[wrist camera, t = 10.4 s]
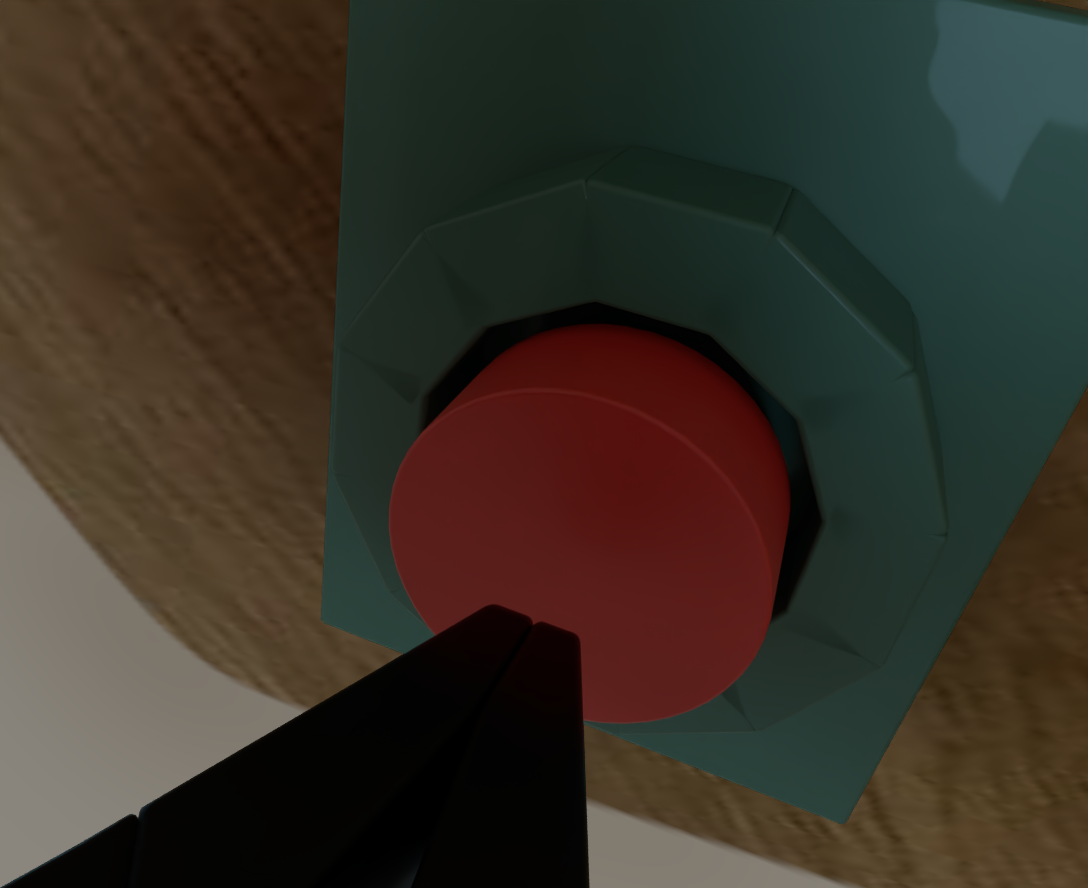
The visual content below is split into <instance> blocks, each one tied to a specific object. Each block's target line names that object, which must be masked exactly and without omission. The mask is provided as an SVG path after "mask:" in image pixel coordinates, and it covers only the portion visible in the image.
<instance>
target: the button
mask: <svg viewBox="0 0 1088 888" xmlns="http://www.w3.org/2000/svg"><path fill="white" fill-rule="evenodd" d="M790 508H791V494H790V481H789V475H788V470H787V465H786V461H785V458H784V455H783V452H782V449H781V446H780V443H779V441H778V439H777V437H776V435H775V433H774V431H773V429H772V427H771V425H770V423H769V421H768V420H767V418H766V417H765V415H764V414H763V412H762V411H761V410H760V408H759V407H758V405H757V404H756V402H755V401H754V400H753V399H752V398H751V396H750V395H749V394H748V393H747V392H746V391H745V390H744V389H743V388H742V386H741V385H740V384H739V383H738V382H737V381H736V380H735V379H733V378H732V377H731V376H730V375H729V374H728V373H726V372H725V371H724V370H723V369H722V368H721V367H719V366H718V365H717V364H715V363H714V362H712V361H711V360H709V359H708V358H706V357H705V356H703V355H702V354H700V353H699V352H697V351H695V350H693V349H691V348H689V347H687V346H685V345H684V344H682V343H680V342H678V341H676V340H673V339H670V338H668V337H665V336H662V335H659V334H657V333H654V332H651V331H646V330H642V329H638V328H633V327H629V326H622V325H612V324H577V325H571V326H564V327H558V328H554V329H551V330H547V331H544V332H541V333H538V334H535V335H533V336H530V337H528V338H526V339H524V340H522V341H520V342H518V343H516V344H514V345H513V346H511V347H510V348H508V349H507V350H505V351H504V352H502V353H501V354H499V355H498V356H497V357H496V358H495V359H494V360H493V361H492V362H491V363H490V364H488V365H487V366H486V367H485V368H484V369H483V370H482V371H481V372H480V373H479V374H478V375H477V376H476V377H475V378H474V379H473V380H472V381H471V382H470V383H469V385H468V386H467V387H466V388H465V389H464V390H463V391H462V392H461V393H460V394H459V395H458V396H457V397H456V398H455V399H454V400H453V401H452V402H451V403H450V404H449V405H448V406H447V407H446V408H445V409H444V410H443V411H442V412H441V413H440V414H439V415H438V416H437V417H436V418H435V419H434V420H433V421H432V422H431V423H430V424H429V425H428V427H427V428H426V429H425V430H424V431H423V432H422V433H421V434H420V435H419V437H418V438H417V439H416V440H415V442H414V443H413V444H412V446H411V447H410V448H409V450H408V451H407V453H406V455H405V457H404V459H403V461H402V463H401V465H400V466H399V469H398V472H397V475H396V478H395V481H394V484H393V488H392V494H391V500H390V506H389V534H390V542H391V549H392V553H393V557H394V561H395V565H396V568H397V571H398V573H399V576H400V579H401V581H402V584H403V586H404V589H405V590H406V592H407V594H408V596H409V598H410V600H411V602H412V604H413V605H414V607H415V609H416V610H417V612H418V613H419V615H420V616H421V618H422V619H423V621H424V622H425V624H426V625H427V626H428V628H429V629H430V630H431V631H432V632H433V634H434V635H437V634H439V633H440V632H442V631H444V630H445V629H447V628H449V627H451V626H452V625H454V624H456V623H457V622H459V621H461V620H463V619H464V618H466V617H468V616H469V615H471V614H473V613H474V612H476V611H478V610H480V609H481V608H483V607H485V606H487V605H490V604H497V605H500V606H503V607H506V608H508V609H511V610H514V611H517V612H519V613H522V614H525V615H527V616H529V617H530V618H531V619H532V621H533V624H535V623H537V622H540V621H543V622H546V623H549V624H552V625H554V626H557V627H560V628H563V629H565V630H568V631H571V632H573V633H575V634H577V635H578V636H579V639H580V642H581V665H582V693H583V720H585V721H593V722H600V723H620V724H628V723H641V722H650V721H656V720H661V719H666V718H670V717H673V716H676V715H679V714H682V713H685V712H688V711H691V710H693V709H695V708H697V707H699V706H701V705H703V704H705V703H707V702H709V701H711V700H712V699H713V698H715V697H716V696H718V695H719V694H721V693H722V692H724V691H725V690H726V689H727V688H728V687H730V686H731V685H732V684H733V683H734V682H735V681H736V680H737V679H738V678H739V677H740V676H741V675H742V674H743V673H744V672H745V670H746V669H747V668H748V666H749V665H750V664H751V662H752V661H753V660H754V658H755V657H756V655H757V653H758V651H759V649H760V647H761V645H762V643H763V641H764V639H765V636H766V633H767V630H768V627H769V623H770V620H771V616H772V611H773V605H774V600H775V594H776V589H777V584H778V578H779V573H780V567H781V562H782V557H783V551H784V546H785V541H786V535H787V530H788V524H789V516H790Z"/></svg>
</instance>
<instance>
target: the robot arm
mask: <svg viewBox="0 0 1088 888" xmlns="http://www.w3.org/2000/svg"><path fill="white" fill-rule="evenodd" d="M586 807H587V806H586V777H585V749H584V721H583V693H582V665H581V642H580V639H579V636H578V635H577V634H575V633H573V632H571V631H568V630H565V629H563V628H560V627H557V626H554V625H552V624H549V623H546V622H543V621H540V622H537V623H535V624H533V621H532V619H531V618H530V617H529V616H527V615H525V614H522V613H519V612H517V611H514V610H511V609H508V608H506V607H503V606H500V605H497V604H490V605H487V606H485V607H483V608H481V609H480V610H478V611H476V612H474V613H473V614H471V615H469V616H468V617H466V618H464V619H463V620H461V621H459V622H457V623H456V624H454V625H452V626H451V627H449V628H447V629H445V630H444V631H442V632H440V633H439V634H437V635H435V636H434V637H432V638H430V639H428V640H427V641H425V642H423V643H422V644H420V645H418V646H416V647H415V648H413V649H411V650H410V651H408V652H406V653H405V654H403V655H401V656H399V657H398V658H396V659H394V660H393V661H391V662H389V663H387V664H386V665H384V666H382V667H381V668H379V669H377V670H376V671H374V672H372V673H370V674H369V675H367V676H365V677H364V678H362V679H360V680H359V681H357V682H355V683H353V684H352V685H350V686H348V687H347V688H345V689H343V690H341V691H340V692H338V693H336V694H335V695H333V696H331V697H330V698H328V699H326V700H324V701H323V702H321V703H319V704H318V705H316V706H314V707H312V708H311V709H309V710H307V711H306V712H304V713H302V714H301V715H299V716H297V717H295V718H294V719H292V720H290V721H289V722H287V723H285V724H284V725H282V726H280V727H278V728H277V729H275V730H273V731H272V732H270V733H268V734H267V735H265V736H263V737H261V738H260V739H258V740H256V741H255V742H253V743H251V744H249V745H248V746H246V747H244V748H243V749H241V750H239V751H237V752H236V753H234V754H232V755H231V756H229V757H227V758H226V759H224V760H222V761H220V762H219V763H217V764H215V765H214V766H212V767H210V768H208V769H207V770H205V771H203V772H202V773H200V774H198V775H197V776H195V777H193V778H191V779H190V780H188V781H186V782H185V783H183V784H181V785H180V786H178V787H176V788H174V789H173V790H171V791H169V792H168V793H166V794H164V795H162V796H161V797H160V798H157V799H156V800H154V801H152V802H151V803H149V804H147V805H145V806H144V807H142V808H141V810H140V812H139V817H137V816H136V815H133V814H130V815H127V816H126V817H124V818H122V819H121V820H119V821H117V822H116V823H114V824H112V825H111V826H109V827H107V828H105V829H104V830H102V831H100V832H99V833H97V834H95V835H93V836H92V837H90V838H88V839H87V840H85V841H84V842H82V843H80V844H78V845H76V846H74V847H72V848H71V849H69V850H67V851H65V852H64V853H62V854H60V855H59V856H57V857H55V858H53V859H51V860H49V861H47V862H46V863H44V864H42V865H40V866H39V867H37V868H35V869H33V870H31V871H29V872H28V873H26V874H24V875H22V876H20V877H19V878H17V879H15V880H13V881H11V882H10V883H8V884H6V885H5V886H2V887H1V888H589V863H588V834H587V808H586Z"/></svg>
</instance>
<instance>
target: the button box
mask: <svg viewBox="0 0 1088 888" xmlns="http://www.w3.org/2000/svg"><path fill="white" fill-rule="evenodd" d="M577 324H612V325H622V326H629V327H633V328H638V329H642V330H646V331H651V332H654V333H657V334H659V335H662V336H665V337H668V338H670V339H673V340H676V341H678V342H680V343H682V344H684V345H685V346H687V347H689V348H691V349H693V350H695V351H697V352H699V353H700V354H702V355H703V356H705V357H706V358H708V359H709V360H711V361H712V362H714V363H715V364H717V365H718V366H719V367H721V368H722V369H723V370H724V371H725V372H726V373H728V374H729V375H730V376H731V377H732V378H733V379H735V380H736V381H737V382H738V383H739V384H740V385H741V386H742V388H743V389H744V390H745V391H746V392H747V393H748V394H749V395H750V396H751V398H752V399H753V400H754V401H755V402H756V404H757V405H758V407H759V408H760V410H761V411H762V412H763V414H764V415H765V417H766V418H767V420H768V421H769V423H770V425H771V427H772V429H773V431H774V433H775V435H776V437H777V439H778V441H779V443H780V446H781V449H782V452H783V455H784V458H785V461H786V465H787V470H788V475H789V481H790V494H791V508H790V516H789V524H788V530H787V535H786V541H785V546H784V551H783V557H782V562H781V567H780V573H779V578H778V584H777V589H776V594H775V600H774V605H773V611H772V616H771V620H770V623H769V627H768V630H767V633H766V636H765V639H764V641H763V643H762V645H761V647H760V649H759V651H758V653H757V655H756V657H755V658H754V660H753V661H752V662H751V664H750V665H749V666H748V668H747V669H746V670H745V672H744V673H743V674H742V675H741V676H740V677H739V678H738V679H737V680H736V681H735V682H734V683H733V684H732V685H731V686H730V687H728V688H727V689H726V690H725V691H724V692H722V693H721V694H719V695H718V696H716V697H715V698H713V699H712V700H711V701H709V702H707V703H705V704H703V705H701V706H699V707H697V708H695V709H693V710H691V711H688V712H685V713H682V714H679V715H676V716H673V717H670V718H666V719H661V720H656V721H650V722H641V723H628V724H620V723H600V722H593V721H585V720H583V721H584V724H585V725H588V726H590V727H593V728H595V729H598V730H600V731H603V732H606V733H608V734H611V735H613V736H616V737H618V738H621V739H623V740H626V741H629V742H631V743H634V744H636V745H639V746H641V747H644V748H647V749H649V750H652V751H654V752H657V753H659V754H662V755H665V756H667V757H670V758H672V759H675V760H677V761H680V762H683V763H685V764H688V765H690V766H693V767H695V768H698V769H700V770H703V771H706V772H708V773H711V774H713V775H716V776H718V777H721V778H724V779H726V780H729V781H731V782H734V783H736V784H739V785H742V786H744V787H747V788H749V789H752V790H754V791H757V792H760V793H762V794H765V795H767V796H770V797H772V798H775V799H777V800H780V801H783V802H785V803H788V804H790V805H793V806H795V807H798V808H801V809H803V810H806V811H808V812H811V813H813V814H816V815H819V816H821V817H824V818H826V819H829V820H831V821H834V822H837V823H839V824H844V823H846V821H847V820H848V818H849V816H850V815H851V813H852V811H853V809H854V807H855V806H856V804H857V802H858V800H859V798H860V796H861V795H862V793H863V791H864V789H865V787H866V786H867V784H868V782H869V780H870V778H871V777H872V775H873V773H874V771H875V769H876V768H877V766H878V764H879V762H880V760H881V759H882V757H883V755H884V753H885V751H886V750H887V748H888V746H889V744H890V742H891V740H892V739H893V737H894V735H895V733H896V731H897V730H898V728H899V726H900V724H901V722H902V721H903V719H904V717H905V715H906V713H907V712H908V710H909V708H910V706H911V704H912V703H913V701H914V699H915V697H916V695H917V694H918V692H919V690H920V688H921V686H922V684H923V683H924V681H925V679H926V677H927V675H928V674H929V672H930V670H931V668H932V666H933V665H934V663H935V661H936V659H937V657H938V656H939V654H940V652H941V650H942V648H943V647H944V645H945V643H946V641H947V639H948V638H949V636H950V634H951V632H952V630H953V628H954V627H955V625H956V623H957V621H958V619H959V618H960V616H961V614H962V612H963V610H964V609H965V607H966V605H967V603H968V601H969V600H970V598H971V596H972V594H973V592H974V591H975V589H976V587H977V585H978V583H979V582H980V580H981V578H982V576H983V574H984V572H985V571H986V569H987V567H988V565H989V563H990V562H991V560H992V558H993V556H994V554H995V553H996V551H997V549H998V547H999V545H1000V544H1001V542H1002V540H1003V538H1004V536H1005V535H1006V533H1007V531H1008V529H1009V527H1010V526H1011V524H1012V522H1013V520H1014V518H1015V516H1016V515H1017V513H1018V511H1019V509H1020V507H1021V506H1022V504H1023V502H1024V500H1025V498H1026V497H1027V495H1028V493H1029V491H1030V489H1031V488H1032V486H1033V484H1034V482H1035V480H1036V479H1037V477H1038V475H1039V473H1040V471H1041V470H1042V468H1043V466H1044V464H1045V462H1046V460H1047V459H1048V457H1049V455H1050V453H1051V451H1052V450H1053V448H1054V446H1055V444H1056V442H1057V441H1058V439H1059V437H1060V435H1061V433H1062V432H1063V430H1064V428H1065V426H1066V424H1067V423H1068V421H1069V419H1070V417H1071V415H1072V414H1073V412H1074V410H1075V408H1076V406H1077V404H1078V403H1079V401H1080V399H1081V397H1082V395H1083V394H1084V392H1085V390H1086V388H1087V386H1088V11H1087V10H1082V9H1077V8H1072V7H1067V6H1062V5H1057V4H1052V3H1047V2H1042V1H1037V0H350V1H349V23H348V44H347V66H346V88H345V109H344V131H343V153H342V174H341V196H340V218H339V239H338V261H337V283H336V304H335V326H334V348H333V369H332V391H331V413H330V434H329V456H328V478H327V499H326V521H325V542H324V564H323V586H322V607H321V620H322V621H323V622H324V623H326V624H328V625H331V626H333V627H336V628H339V629H341V630H344V631H346V632H349V633H351V634H354V635H357V636H359V637H362V638H364V639H367V640H369V641H372V642H375V643H377V644H380V645H382V646H385V647H387V648H390V649H392V650H395V651H398V652H400V653H403V654H405V653H406V652H408V651H410V650H411V649H413V648H415V647H416V646H418V645H420V644H422V643H423V642H425V641H427V640H428V639H430V638H432V637H434V636H435V635H434V634H433V632H432V631H431V630H430V629H429V628H428V626H427V625H426V624H425V622H424V621H423V619H422V618H421V616H420V615H419V613H418V612H417V610H416V609H415V607H414V605H413V604H412V602H411V600H410V598H409V596H408V594H407V592H406V590H405V589H404V586H403V584H402V581H401V579H400V576H399V573H398V571H397V568H396V565H395V561H394V557H393V553H392V549H391V542H390V534H389V506H390V500H391V494H392V488H393V484H394V481H395V478H396V475H397V472H398V469H399V466H400V465H401V463H402V461H403V459H404V457H405V455H406V453H407V451H408V450H409V448H410V447H411V446H412V444H413V443H414V442H415V440H416V439H417V438H418V437H419V435H420V434H421V433H422V432H423V431H424V430H425V429H426V428H427V427H428V425H429V424H430V423H431V422H432V421H433V420H434V419H435V418H436V417H437V416H438V415H439V414H440V413H441V412H442V411H443V410H444V409H445V408H446V407H447V406H448V405H449V404H450V403H451V402H452V401H453V400H454V399H455V398H456V397H457V396H458V395H459V394H460V393H461V392H462V391H463V390H464V389H465V388H466V387H467V386H468V385H469V383H470V382H471V381H472V380H473V379H474V378H475V377H476V376H477V375H478V374H479V373H480V372H481V371H482V370H483V369H484V368H485V367H486V366H487V365H488V364H490V363H491V362H492V361H493V360H494V359H495V358H496V357H497V356H498V355H499V354H501V353H502V352H504V351H505V350H507V349H508V348H510V347H511V346H513V345H514V344H516V343H518V342H520V341H522V340H524V339H526V338H528V337H530V336H533V335H535V334H538V333H541V332H544V331H547V330H551V329H554V328H558V327H564V326H571V325H577Z"/></svg>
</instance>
